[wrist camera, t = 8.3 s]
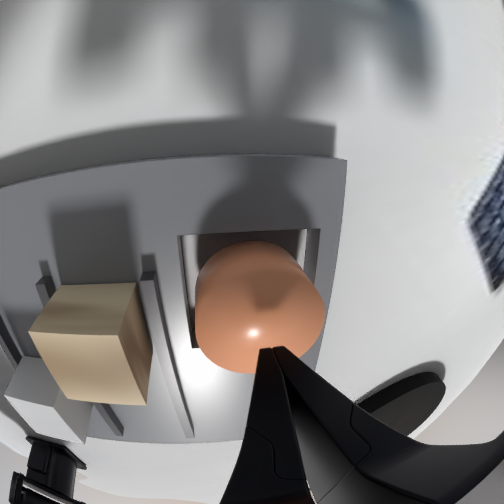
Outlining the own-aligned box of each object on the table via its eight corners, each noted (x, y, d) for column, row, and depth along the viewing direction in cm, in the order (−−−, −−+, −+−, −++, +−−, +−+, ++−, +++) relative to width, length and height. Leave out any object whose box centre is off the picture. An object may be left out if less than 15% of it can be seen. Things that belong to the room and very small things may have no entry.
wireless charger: (439, 343, 21) (450, 355, 19) (434, 403, 29) (441, 412, 27) (284, 437, 22) (289, 453, 20) (332, 464, 30) (336, 474, 28)
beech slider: (153, 350, 13) (146, 405, 9) (84, 349, 12) (67, 398, 9) (136, 282, 11) (117, 335, 8) (60, 285, 10) (27, 331, 7)
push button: (296, 327, 14) (315, 364, 11) (200, 336, 13) (202, 378, 11) (306, 237, 12) (333, 265, 9) (190, 243, 11) (187, 276, 9)
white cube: (93, 402, 14) (84, 444, 11) (48, 395, 13) (36, 432, 10) (70, 361, 12) (53, 407, 9) (23, 355, 11) (3, 394, 8)
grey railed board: (293, 416, 20) (301, 437, 18) (71, 420, 17) (66, 440, 15) (331, 156, 12) (356, 162, 10) (-29, 195, 9) (-52, 207, 7)
